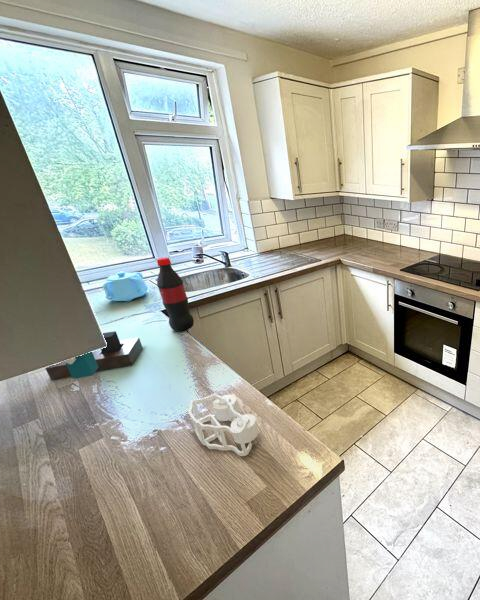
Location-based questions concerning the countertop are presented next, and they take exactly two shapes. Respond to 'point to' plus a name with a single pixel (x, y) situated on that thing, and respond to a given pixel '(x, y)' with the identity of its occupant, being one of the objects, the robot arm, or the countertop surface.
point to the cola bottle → (174, 296)
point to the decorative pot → (124, 286)
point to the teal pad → (83, 366)
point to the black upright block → (111, 342)
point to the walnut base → (104, 359)
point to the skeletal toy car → (224, 410)
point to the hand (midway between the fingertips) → (81, 355)
